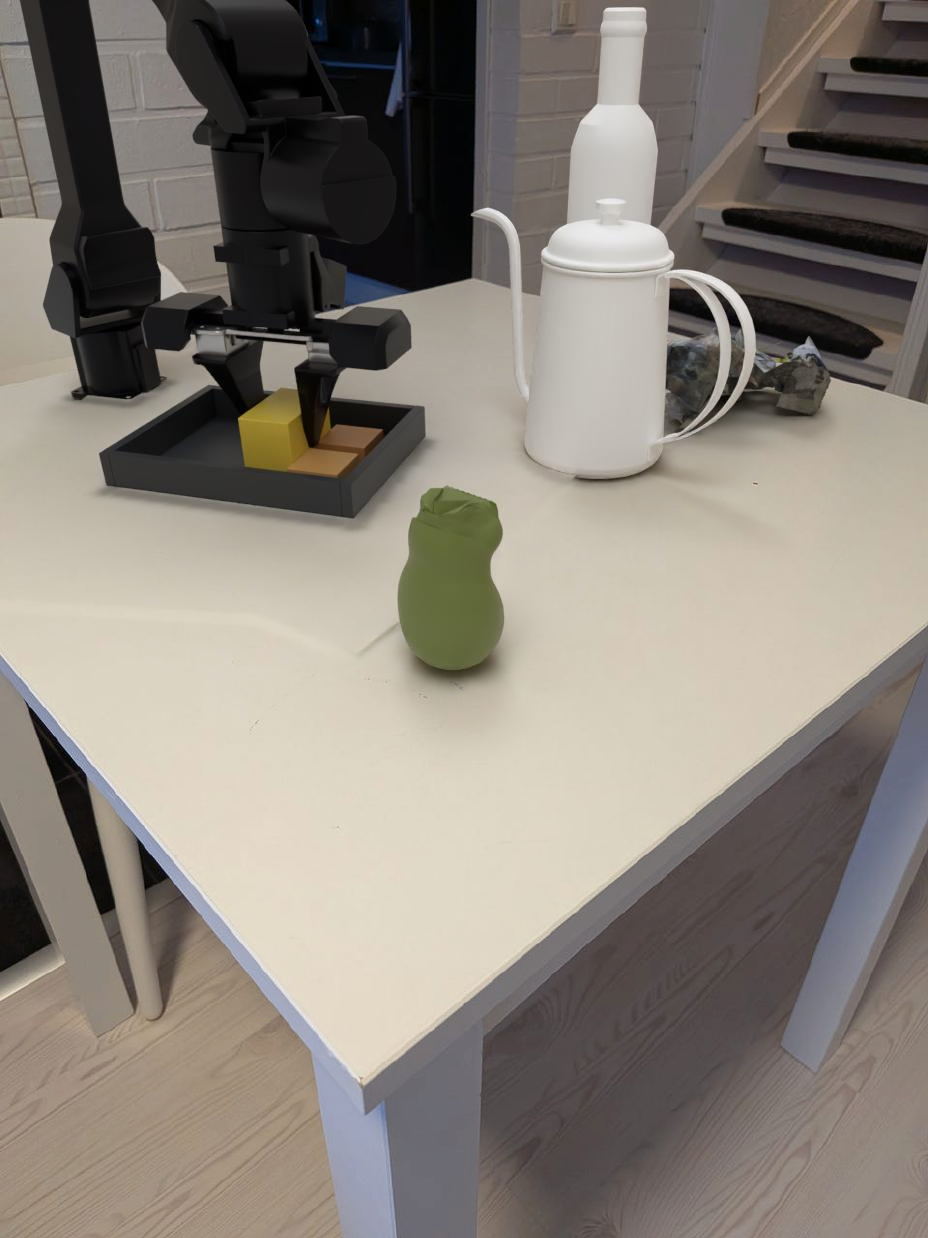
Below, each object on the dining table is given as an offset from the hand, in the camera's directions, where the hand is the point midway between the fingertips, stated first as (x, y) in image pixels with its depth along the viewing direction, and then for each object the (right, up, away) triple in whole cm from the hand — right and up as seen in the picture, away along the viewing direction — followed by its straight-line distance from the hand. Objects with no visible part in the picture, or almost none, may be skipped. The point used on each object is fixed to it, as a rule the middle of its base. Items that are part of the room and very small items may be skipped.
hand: (288, 442), depth 70 cm
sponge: (0, -1, +1) cm, 1 cm away
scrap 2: (+5, -1, +2) cm, 5 cm away
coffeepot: (+23, 0, +3) cm, 24 cm away
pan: (-1, -2, +2) cm, 3 cm away
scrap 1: (+3, -3, -2) cm, 5 cm away
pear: (+13, -16, -20) cm, 29 cm away
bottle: (+27, +12, +23) cm, 37 cm away
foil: (+37, +5, +11) cm, 39 cm away
